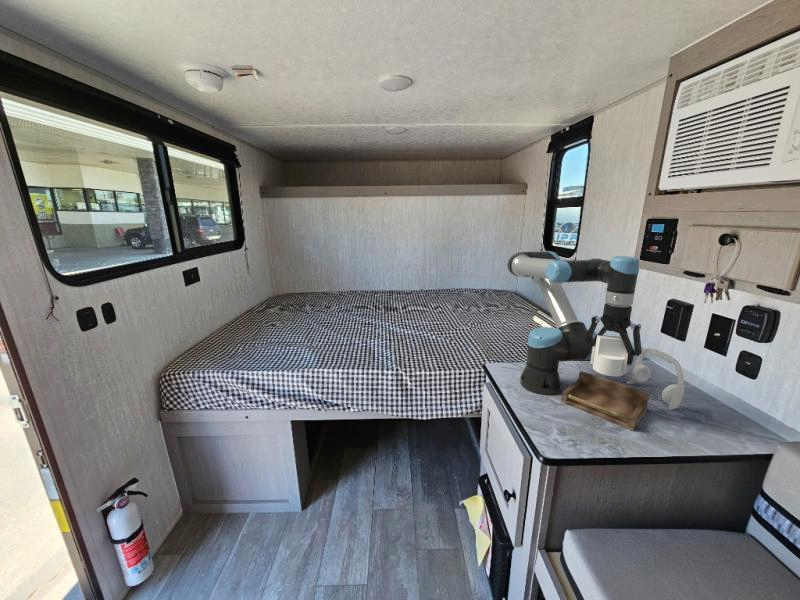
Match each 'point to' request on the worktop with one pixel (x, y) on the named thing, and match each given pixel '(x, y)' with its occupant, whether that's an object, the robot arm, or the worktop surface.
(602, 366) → the cylinder with rectangular tab
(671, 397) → the headset
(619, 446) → the worktop surface
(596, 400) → the caddy
